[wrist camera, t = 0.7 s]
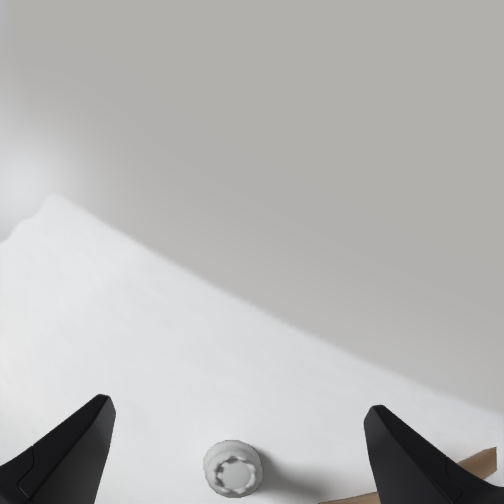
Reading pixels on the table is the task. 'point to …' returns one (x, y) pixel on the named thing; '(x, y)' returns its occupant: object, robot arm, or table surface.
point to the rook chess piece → (233, 469)
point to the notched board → (475, 464)
